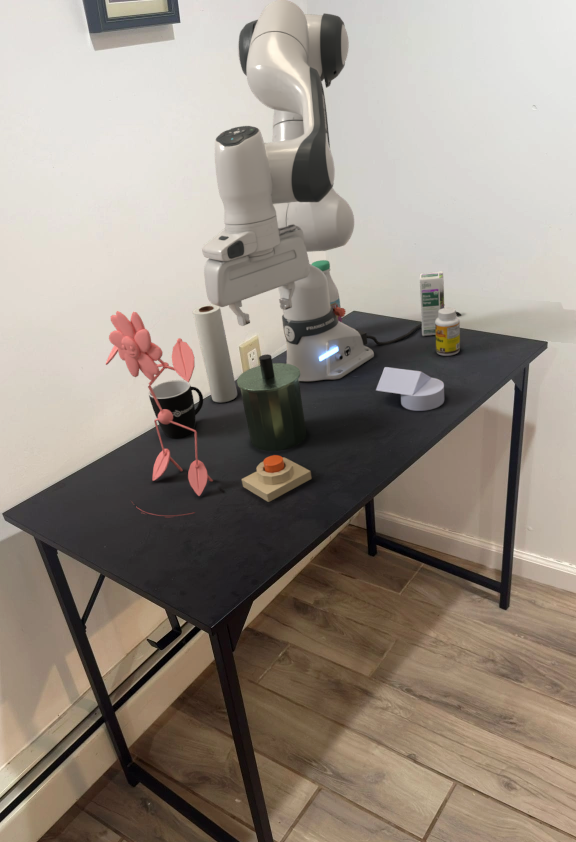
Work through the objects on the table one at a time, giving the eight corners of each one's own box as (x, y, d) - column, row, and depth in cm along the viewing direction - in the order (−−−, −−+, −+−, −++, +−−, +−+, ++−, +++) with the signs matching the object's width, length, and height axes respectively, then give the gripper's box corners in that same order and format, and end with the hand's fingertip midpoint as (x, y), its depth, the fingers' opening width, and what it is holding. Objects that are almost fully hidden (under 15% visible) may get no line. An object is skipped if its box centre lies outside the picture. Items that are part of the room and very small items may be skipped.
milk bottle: (309, 339, 192) (299, 263, 180) (335, 331, 193) (327, 255, 182) (322, 347, 185) (312, 269, 174) (348, 339, 187) (341, 261, 176)
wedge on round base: (376, 404, 154) (432, 413, 147) (374, 375, 150) (431, 383, 143) (396, 387, 160) (451, 394, 153) (394, 358, 156) (450, 365, 149)
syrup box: (421, 336, 182) (419, 279, 174) (422, 328, 186) (419, 272, 178) (445, 335, 180) (443, 277, 172) (444, 326, 185) (443, 269, 177)
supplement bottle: (432, 350, 174) (431, 309, 168) (454, 345, 174) (454, 304, 168) (440, 358, 169) (439, 316, 163) (463, 353, 169) (463, 311, 164)
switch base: (285, 467, 138) (282, 448, 136) (312, 481, 132) (309, 462, 130) (243, 489, 133) (239, 470, 131) (269, 504, 128) (265, 485, 125)
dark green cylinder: (283, 420, 154) (274, 361, 147) (318, 436, 146) (309, 375, 139) (240, 441, 149) (228, 381, 142) (273, 459, 141) (262, 396, 133)
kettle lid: (275, 363, 147) (271, 339, 145) (313, 377, 139) (310, 352, 136) (225, 385, 142) (220, 360, 139) (262, 401, 133) (257, 375, 130)
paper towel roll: (224, 405, 165) (205, 314, 153) (206, 400, 169) (186, 311, 157) (246, 392, 169) (229, 303, 157) (228, 388, 173) (210, 300, 161)
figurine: (158, 458, 148) (110, 290, 129) (246, 491, 132) (207, 305, 113) (98, 494, 139) (37, 319, 120) (185, 534, 124) (131, 341, 104)
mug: (175, 445, 152) (164, 402, 146) (152, 434, 158) (140, 392, 152) (219, 422, 158) (210, 379, 152) (195, 412, 164) (185, 371, 158)
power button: (276, 461, 133) (275, 453, 132) (288, 467, 130) (287, 459, 129) (261, 469, 131) (259, 461, 130) (272, 475, 129) (271, 467, 128)
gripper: (290, 220, 128) (300, 296, 136) (193, 249, 119) (209, 330, 127) (312, 222, 124) (321, 302, 131) (213, 254, 115) (229, 337, 122)
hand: (265, 316), depth 129 cm, fingers open, 8 cm apart
